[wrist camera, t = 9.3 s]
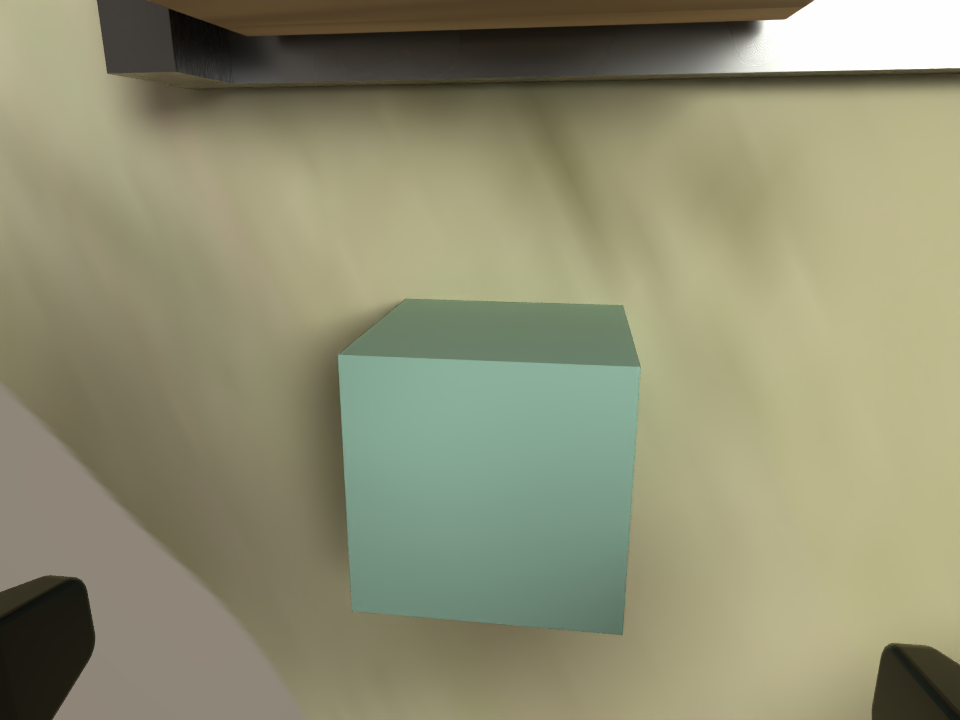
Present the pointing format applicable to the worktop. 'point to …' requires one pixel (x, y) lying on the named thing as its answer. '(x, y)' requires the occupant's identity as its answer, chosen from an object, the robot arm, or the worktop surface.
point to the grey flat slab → (538, 49)
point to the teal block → (491, 462)
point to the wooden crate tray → (464, 14)
